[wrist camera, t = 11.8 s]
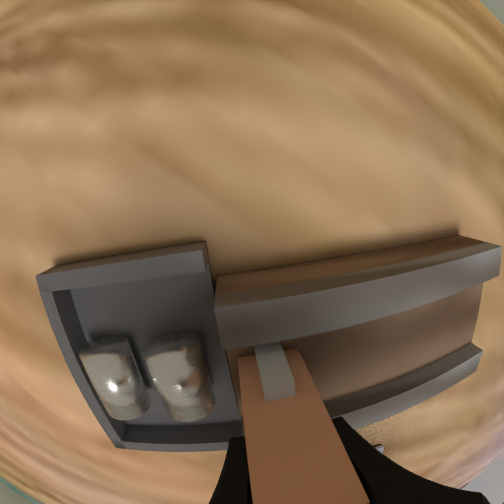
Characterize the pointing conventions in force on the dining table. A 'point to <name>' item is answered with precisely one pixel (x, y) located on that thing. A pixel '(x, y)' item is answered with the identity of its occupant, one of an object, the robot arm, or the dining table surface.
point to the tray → (144, 336)
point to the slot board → (365, 322)
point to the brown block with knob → (291, 434)
